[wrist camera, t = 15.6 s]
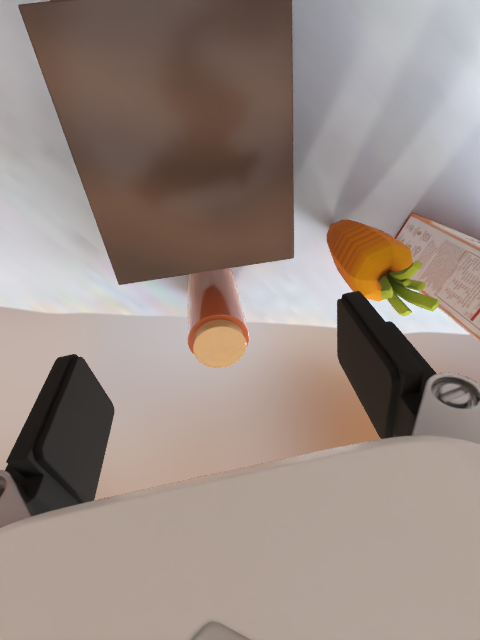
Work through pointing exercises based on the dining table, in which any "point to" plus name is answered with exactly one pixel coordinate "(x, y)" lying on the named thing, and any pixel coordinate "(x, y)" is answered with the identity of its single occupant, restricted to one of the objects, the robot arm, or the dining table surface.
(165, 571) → the robot arm
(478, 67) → the dining table surface
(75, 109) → the cabinet
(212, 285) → the spice jar
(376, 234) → the carrot
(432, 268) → the cracker box
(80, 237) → the dining table surface
